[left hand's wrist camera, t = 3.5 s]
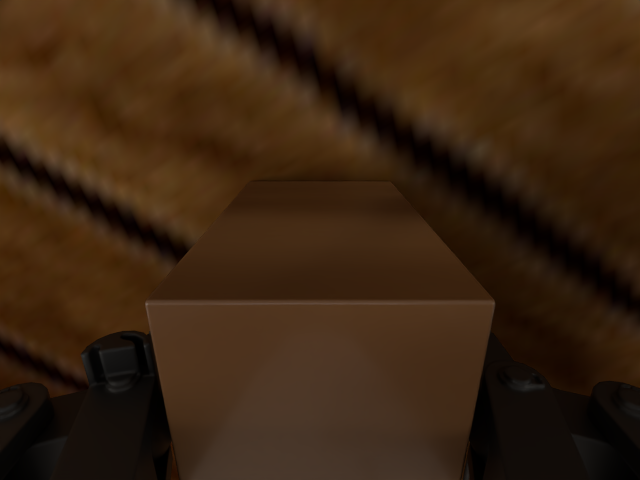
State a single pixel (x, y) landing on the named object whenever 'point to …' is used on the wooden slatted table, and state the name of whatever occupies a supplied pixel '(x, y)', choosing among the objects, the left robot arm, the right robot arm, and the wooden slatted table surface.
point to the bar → (320, 340)
